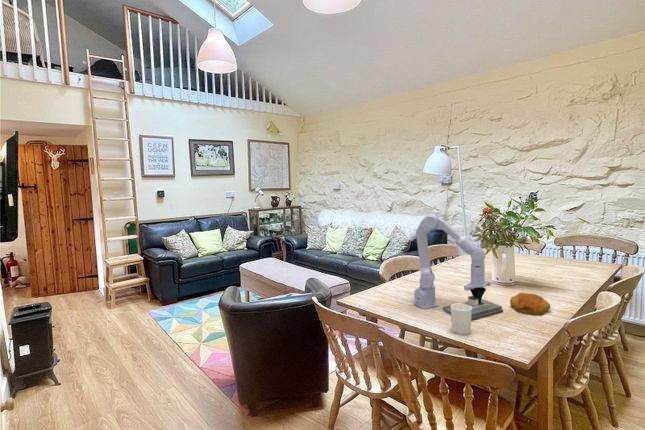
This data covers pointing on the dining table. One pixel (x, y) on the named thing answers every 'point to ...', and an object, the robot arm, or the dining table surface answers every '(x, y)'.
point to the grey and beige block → (472, 301)
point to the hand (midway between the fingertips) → (477, 303)
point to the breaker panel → (480, 308)
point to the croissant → (529, 304)
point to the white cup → (461, 318)
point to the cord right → (486, 315)
